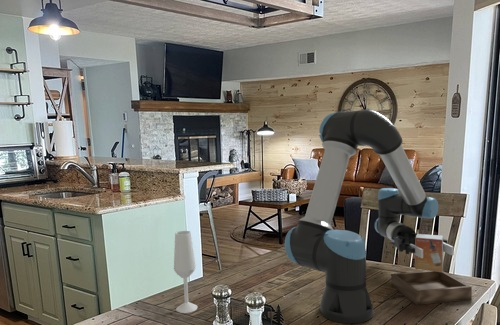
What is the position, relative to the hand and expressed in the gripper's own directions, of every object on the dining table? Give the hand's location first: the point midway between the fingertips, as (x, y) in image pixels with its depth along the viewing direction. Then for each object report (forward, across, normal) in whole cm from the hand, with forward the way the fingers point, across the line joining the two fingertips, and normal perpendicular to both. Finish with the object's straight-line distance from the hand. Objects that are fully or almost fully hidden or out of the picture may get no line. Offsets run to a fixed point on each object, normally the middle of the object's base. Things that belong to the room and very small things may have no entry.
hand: (437, 252), depth 124 cm
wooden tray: (-4, 0, -14) cm, 15 cm away
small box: (-4, 0, -7) cm, 8 cm away
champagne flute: (-9, +78, -14) cm, 80 cm away
